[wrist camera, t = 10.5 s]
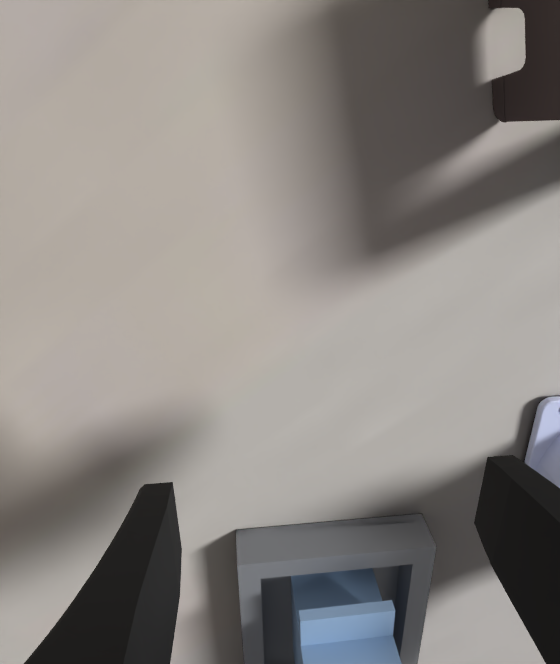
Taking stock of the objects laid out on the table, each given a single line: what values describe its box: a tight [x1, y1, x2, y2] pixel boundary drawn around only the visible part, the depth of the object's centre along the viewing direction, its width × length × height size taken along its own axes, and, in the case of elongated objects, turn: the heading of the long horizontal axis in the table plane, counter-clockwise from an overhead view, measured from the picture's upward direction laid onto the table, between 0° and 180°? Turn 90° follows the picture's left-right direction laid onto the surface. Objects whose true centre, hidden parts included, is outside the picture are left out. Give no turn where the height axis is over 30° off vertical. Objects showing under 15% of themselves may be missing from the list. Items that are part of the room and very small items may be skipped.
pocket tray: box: [236, 514, 437, 664], centre depth 27 cm, size 9×11×2 cm
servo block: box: [291, 568, 402, 664], centre depth 25 cm, size 4×9×6 cm, turn 2°
